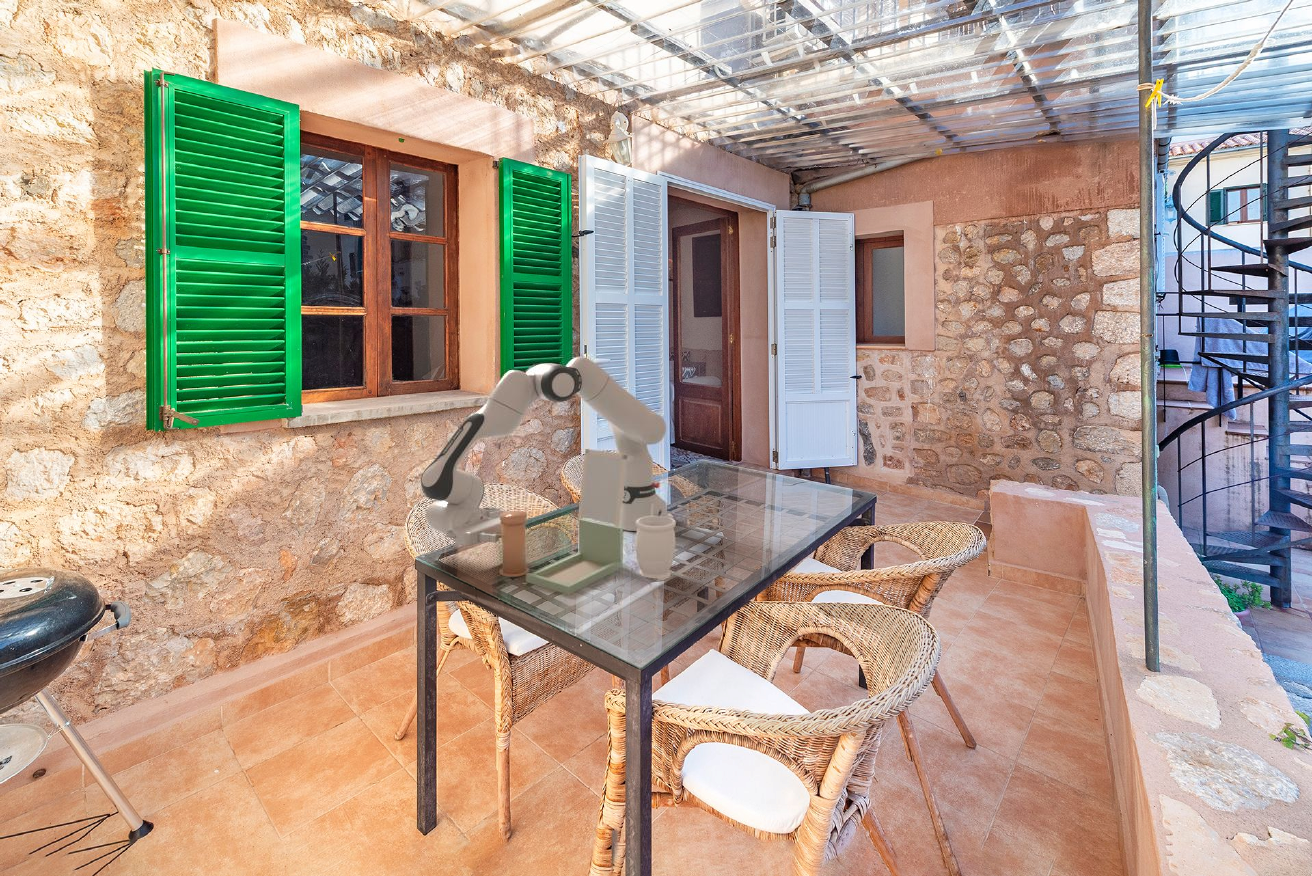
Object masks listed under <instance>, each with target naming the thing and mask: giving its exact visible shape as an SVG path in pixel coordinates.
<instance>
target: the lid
mask: <svg viewBox="0 0 1312 876" xmlns="http://www.w3.org/2000/svg"><path fill="white" fill-rule="evenodd" d="M627 457H628V455H624V454H618V453H617V452H609V451H604V450H603V451H602V450H596V449H590V448H585V450H584V461H583V468H582V478H581V485H580V496H579V505H578V515H577V519H588V520H589V519H590V520H593V521H597V522H598V521H599V522H602V523H606V524H611V525H613V524H615V526H616V527H620V520H621V511H622V502H623V493H624V484H625V475H626V466H627Z"/></svg>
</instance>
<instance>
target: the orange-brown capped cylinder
mask: <svg viewBox="0 0 1312 876" xmlns="http://www.w3.org/2000/svg"><path fill="white" fill-rule="evenodd" d="M508 511H509V510H508ZM527 517H528V515H527V512H526V511H525V512H524V511H521V510H510V511H509V512H504V513H502V514H500V523H502V535H501V553H502V554H501V555H502V558H501V559H502V568H503V572H504V573H506V574H520V573H523V572H525V571H526V566H527V541H526V539H527V538H526V535H527V534H526V523H527V521H528V518H527Z"/></svg>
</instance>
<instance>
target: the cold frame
mask: <svg viewBox="0 0 1312 876" xmlns="http://www.w3.org/2000/svg"><path fill="white" fill-rule="evenodd" d="M623 545H624V530H623V528H622V527H616V526H614V525H613V524H610V523H605V522H601V521H599V522H598V521H596V520H592V519H590V520H589V519H587V518H583V519H580V518H578V552H577V553H575V554H571V555H570V556H567V557H565V558H564V559H561V560H559V561H557V562H555V563H552V564H550V565H548V566H545V567H543V568H541V569H539V570H536V571H534V572H528V573H527V574H525V583H528V584H532V585H535V586H539V587H541V588H544V589H549V590H551V591H555V592H557V593H561V594H565V595H567V596H570V595H572V594H574V593H576V592H578V591H580V590H581V589H583V588H585V587H587V586H589V585H591V584H593V583H596V582H597V581H599V580H601V579H603V578H604V577H607V576H609V575H610V574H613V573H615V572H617V571H618V570H621V569H622V568H623V566H624V565H623V564H624V562H623V559H624V554H623V553H624V550H623V549H624V547H623Z"/></svg>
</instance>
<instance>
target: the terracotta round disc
mask: <svg viewBox="0 0 1312 876" xmlns="http://www.w3.org/2000/svg"><path fill="white" fill-rule="evenodd" d="M527 573H530V567H528V566H527V565H526V571H525V572H523V573H520V574H506V573H504V572H503V567H501V568H500V569H499V574H500V575H501V576H503V577H509V578H511V577H513V578H514V577H521V576H524V575H526V574H527Z"/></svg>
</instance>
